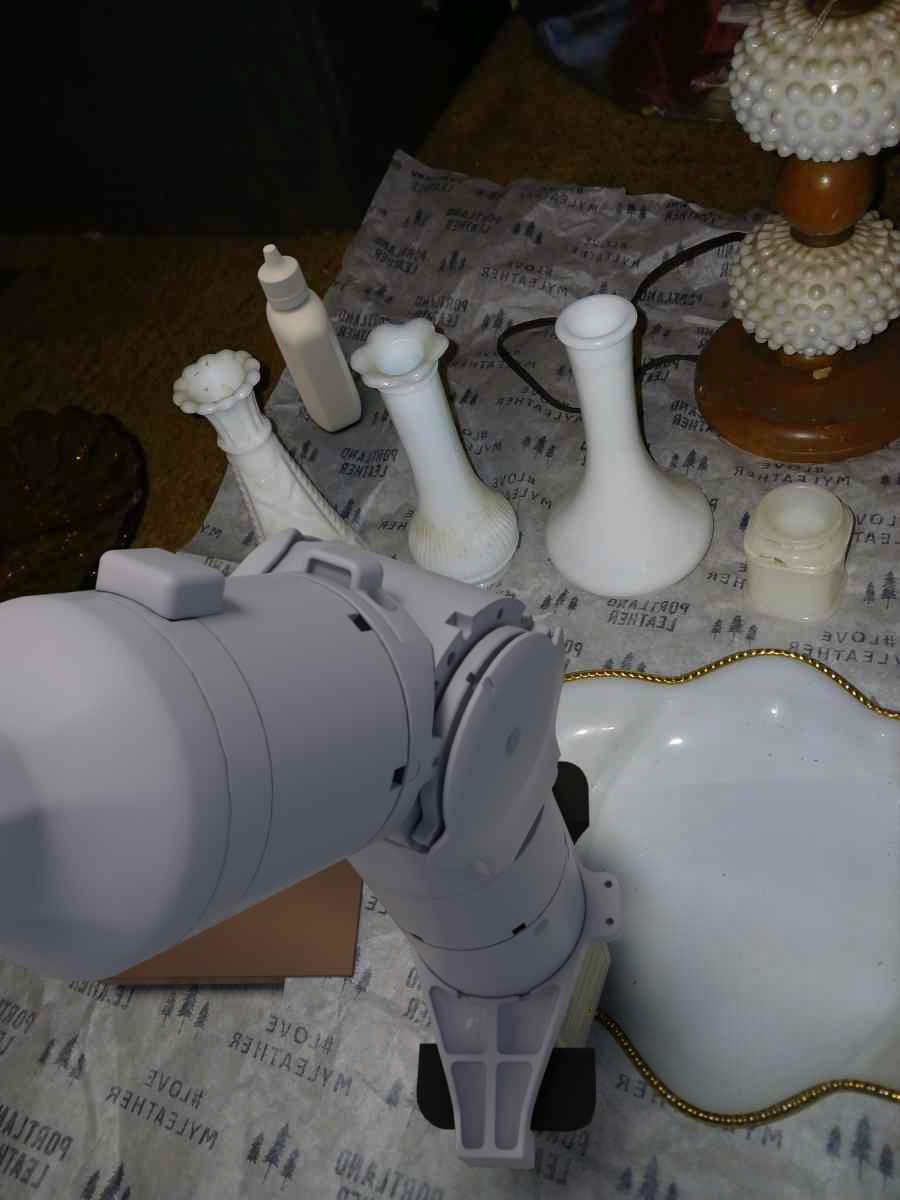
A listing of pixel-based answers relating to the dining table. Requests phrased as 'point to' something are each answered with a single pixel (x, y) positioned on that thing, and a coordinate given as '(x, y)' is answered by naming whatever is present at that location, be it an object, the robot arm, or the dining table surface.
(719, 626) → the dining table surface
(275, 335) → the eye dropper bottle
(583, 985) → the small box
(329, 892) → the shelf
